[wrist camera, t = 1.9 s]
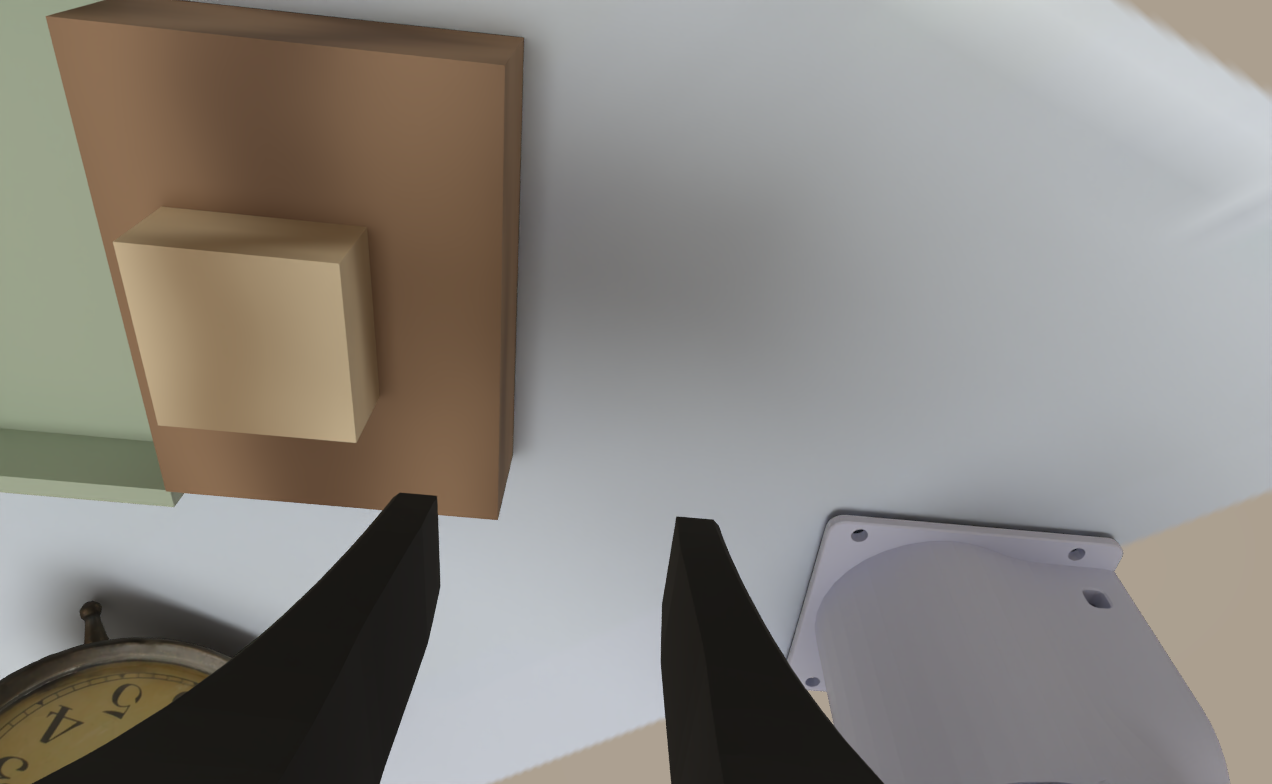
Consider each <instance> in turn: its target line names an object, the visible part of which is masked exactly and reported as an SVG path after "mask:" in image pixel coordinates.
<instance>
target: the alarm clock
mask: <svg viewBox="0 0 1272 784" xmlns="http://www.w3.org/2000/svg"><path fill="white" fill-rule="evenodd" d="M101 610H102V606H101V605H100V604H99V603H97V602H95V601H91V602H87V603H85V604H84V605H83V607H82V608H81V609H80V616H81V618H82V619H83V620H85V640H84V644H83V645H80V646H76V647H73V648H70V649H67V650H64V651H61V652H59V653H55V654H52V655H49V656H47V657H44V658H42V659H40V660H38V661H36V662H33V663H31V664H29V665H27V666H25V667H23V668H21V669H19V670H17V671H15V672H13V673H11V674H10V675H8V676H6V677H5V678H3V679H2V680H0V784H32V783H34V782H36V781H38V780H40V779H41V778H43V777H45V776H47V775H49V774H51V773H53V772H55V771H57V770H59V769H60V768H62V767H64V766H66V765H68V764H70V763H72V762H74V761H76V760H78V759H79V758H81V757H83V756H85V755H87V754H89V753H90V752H92V751H94V750H96V749H97V748H99V747H101V746H103V745H104V744H106V743H108V742H109V741H111V740H113V739H114V738H116V737H118V736H119V735H121V734H123V733H124V732H126V731H127V730H129V729H131V728H132V727H134V726H135V725H137V724H139V723H140V722H142V721H143V720H145V719H147V718H148V717H150V716H151V715H153V714H155V713H156V712H158V711H159V710H161V709H162V708H164V707H165V706H167V705H168V704H170V703H171V702H173V701H174V700H176V699H177V698H179V697H180V696H182V695H183V694H184V693H186V692H187V691H189V690H190V689H192V688H193V687H194V686H196V685H197V684H198V683H200V682H201V681H202V680H204V679H205V678H206V677H208V676H209V675H211V674H212V673H213V672H215V671H216V670H217V669H219V668H220V667H221V666H223V665H224V664H225V663H227V662H228V661H229V660H231V659H232V657H229V656H227V655H225V654H222V653H220V652H217V651H215V650H212V649H209V648H206V647H202V646H199V645H196V644H192V643H187V642H183V641H177V640H170V639H161V638H120V639H112V640H109V638H108V636H107V634H106V632H105V629H104V627H103V624H102V622H101V619H100V614H101Z"/></svg>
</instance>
